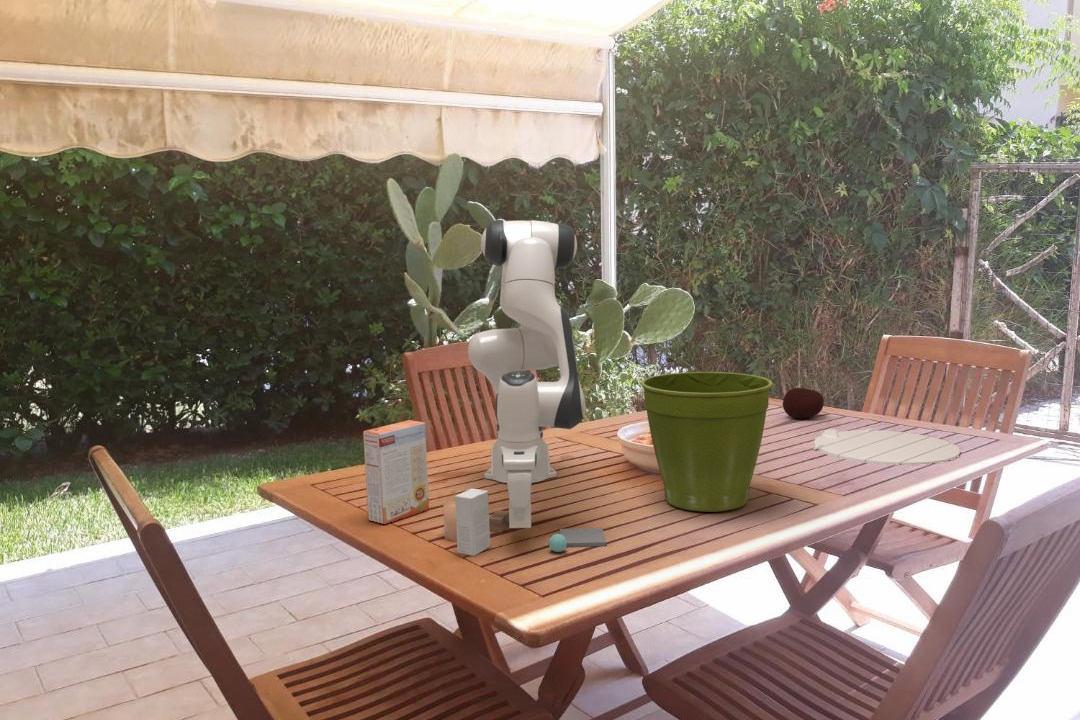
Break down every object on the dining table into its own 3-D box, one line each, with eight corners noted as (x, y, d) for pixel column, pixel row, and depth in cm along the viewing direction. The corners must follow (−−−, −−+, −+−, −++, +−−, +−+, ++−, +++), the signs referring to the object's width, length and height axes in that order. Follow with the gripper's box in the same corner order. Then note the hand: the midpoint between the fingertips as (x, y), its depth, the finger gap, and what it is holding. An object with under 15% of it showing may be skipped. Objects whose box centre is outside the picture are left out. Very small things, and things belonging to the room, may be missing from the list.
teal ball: (548, 548, 187) (548, 531, 187) (566, 548, 187) (566, 531, 187) (549, 554, 184) (549, 537, 183) (567, 554, 184) (567, 537, 183)
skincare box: (473, 544, 191) (471, 487, 189) (490, 547, 188) (489, 490, 187) (456, 553, 185) (454, 495, 184) (473, 556, 183) (471, 498, 182)
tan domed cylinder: (445, 531, 199) (444, 499, 198) (478, 530, 199) (477, 498, 198) (443, 542, 192) (442, 509, 191) (477, 541, 192) (476, 508, 191)
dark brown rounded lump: (826, 422, 300) (827, 391, 299) (784, 422, 302) (785, 390, 300) (819, 415, 311) (820, 385, 310) (779, 415, 313) (780, 385, 311)
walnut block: (497, 523, 204) (496, 510, 204) (510, 524, 203) (509, 511, 203) (488, 532, 198) (487, 518, 198) (501, 533, 198) (501, 519, 197)
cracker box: (412, 505, 217) (409, 418, 214) (430, 510, 214) (427, 421, 211) (366, 521, 207) (361, 429, 204) (384, 526, 203) (380, 433, 200)
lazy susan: (784, 449, 267) (785, 437, 267) (854, 427, 293) (854, 417, 293) (919, 474, 238) (920, 461, 238) (983, 448, 264) (984, 437, 264)
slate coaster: (560, 532, 197) (560, 528, 197) (602, 531, 197) (602, 527, 197) (562, 547, 188) (562, 543, 188) (606, 545, 188) (606, 542, 188)
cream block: (509, 520, 196) (509, 495, 195) (530, 520, 196) (530, 495, 195) (509, 528, 191) (508, 502, 190) (531, 527, 191) (530, 502, 190)
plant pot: (776, 489, 226) (778, 373, 222) (762, 527, 198) (764, 395, 194) (656, 480, 236) (656, 369, 232) (627, 514, 208) (626, 389, 204)
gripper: (504, 438, 201) (505, 499, 203) (503, 464, 181) (504, 532, 183) (533, 438, 201) (534, 499, 203) (535, 464, 181) (536, 531, 183)
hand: (520, 515), depth 193 cm, fingers closed on cream block, 4 cm apart
